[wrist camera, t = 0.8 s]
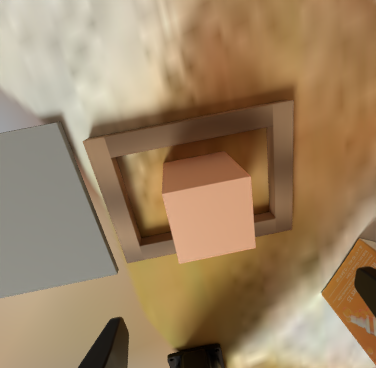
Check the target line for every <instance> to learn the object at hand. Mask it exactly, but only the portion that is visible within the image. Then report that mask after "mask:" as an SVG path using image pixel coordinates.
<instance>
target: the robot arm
mask: <svg viewBox="0 0 376 368" xmlns="http://www.w3.org/2000/svg"><path fill="white" fill-rule="evenodd" d="M354 286H355V289H356V290H357V292H358V293H359V295H360V296H361V298H362V299H363V301H364V302H365V303H366V305H367V306H368V308H369V309H370V311H371V312H372V313H373V315H374V316H375V318H376V269H375V268H373V267H370V266H364V267H359V268H357V270H356V274H355V280H354ZM128 344H129V333H128V329H127V327H126V324H125V322H124V320H123V318H122V317H116V318H112V319H110V320H109V322H108V323H107V325H106V326H105V328H104V329H103V331H102V332H101V334H100V335H99V337H98V338H97V340H96V341H95V343H94V344H93V346H92V347H91V349H90V350H89V352H88V353H87V355H86V356H85V358H84V359H83V361H82V362H81V364H80V365H79V367H78V368H127V365H128ZM168 363H169V366H170V368H225V367H224V362H223V357H222V351H221V347H220V345H219V344H214V345H209V346H205V347H200V348H195V349H190V350H186V351H181V352H176V353H172V354H169V355H168Z"/></svg>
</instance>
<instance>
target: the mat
mask: <svg viewBox="0 0 376 368" xmlns="http://www.w3.org/2000/svg"><path fill="white" fill-rule="evenodd" d="M117 273H118V267H117V265H116V262H115V259H114V257H113V254H112V252H111V249H110V247H109V244H108V242H107V239H106V237H105V234H104V231H103V229H102V226H101V224H100V221H99V219H98V216H97V214H96V211H95V209H94V206H93V203H92V201H91V198H90V196H89V193H88V191H87V188H86V186H85V183H84V181H83V178H82V176H81V173H80V170H79V168H78V165H77V163H76V160H75V158H74V155H73V153H72V150H71V148H70V145H69V142H68V140H67V137H66V135H65V132H64V130H63V127H62V125H61V122H56V123H50V124H45V125H40V126H35V127H30V128H25V129H19V130H14V131H9V132H5V133H0V298H4V297H9V296H14V295H18V294H23V293H28V292H33V291H38V290H43V289H48V288H53V287H57V286H62V285H67V284H72V283H77V282H82V281H86V280H92V279H96V278H101V277H106V276H111V275H116V274H117Z"/></svg>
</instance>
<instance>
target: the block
mask: <svg viewBox="0 0 376 368" xmlns="http://www.w3.org/2000/svg"><path fill="white" fill-rule="evenodd" d="M162 196H163V200H164V204H165V208H166V212H167V216H168V220H169V224H170V228H171V232H172V236H173V240H174V245H175V249H176V253H177V257H178V261H179V264H181V263H185V262H190V261H195V260H200V259H205V258H210V257H214V256H219V255H224V254H229V253H234V252H239V251H243V250H248V249H253V248H256V244H255V230H254V216H253V201H252V187H251V176H250V175H249V174H248V173H247V172H246V171H245V170H244V169H243V168H242V167H241V166H240V165H238V164H237V163H236V162H235V161H234V160H233V159H232V158H231V157H230V156H229V155H228V154H227V153H226V152H225V151H222V152H217V153H212V154H207V155H202V156H197V157H192V158H186V159H181V160H176V161H171V162H166V163H163V182H162Z"/></svg>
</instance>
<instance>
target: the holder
mask: <svg viewBox="0 0 376 368" xmlns="http://www.w3.org/2000/svg"><path fill="white" fill-rule="evenodd" d="M293 109H294V100H282V101H277V102H272V103H267V104H261V105H256V106H251V107H246V108H241V109H236V110H231V111H226V112H220V113H215V114H210V115H205V116H200V117H195V118H190V119H185V120H179V121H174V122H169V123H164V124H159V125H154V126H149V127H144V128H138V129H133V130H128V131H123V132H118V133H113V134H108V135H102V136H97V137H92V138H88V139H86V140H84V141H83V144H84V147H85V149H86V152H87V155H88V157H89V160H90V163H91V166H92V168H93V171H94V174H95V176H96V179H97V182H98V185H99V187H100V190H101V193H102V195H103V198H104V201H105V204H106V206H107V209H108V212H109V215H110V217H111V220H112V223H113V225H114V228H115V231H116V234H117V236H118V239H119V242H120V244H121V247H122V250H123V253H124V255H125V258H126V261H127V263H131V262H136V261H141V260H146V259H151V258H156V257H160V256H165V255H170V254H175V253H176V249H175V245H174V240H173V236H172V232H168V233H163V234H158V235H153V236H148V237H144V238H141V236H140V233H139V230H138V226H137V223H136V220H135V217H134V214H133V211H132V207H131V204H130V201H129V198H128V195H127V192H126V189H125V185H124V182H123V179H122V176H121V173H120V170H119V167H118V163H117V160H116V157H118V156H123V155H128V154H133V153H138V152H143V151H148V150H153V149H158V148H163V147H168V146H174V145H179V144H184V143H189V142H194V141H199V140H204V139H209V138H214V137H219V136H224V135H229V134H235V133H240V132H245V131H250V130H255V129H260V128H265V127H267V155H268V183H269V210H270V212H267V213H262V214H257V215H253V216H254V230H255V237H258V236H263V235H268V234H273V233H278V232H283V231H287V230H292V201H293Z"/></svg>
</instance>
